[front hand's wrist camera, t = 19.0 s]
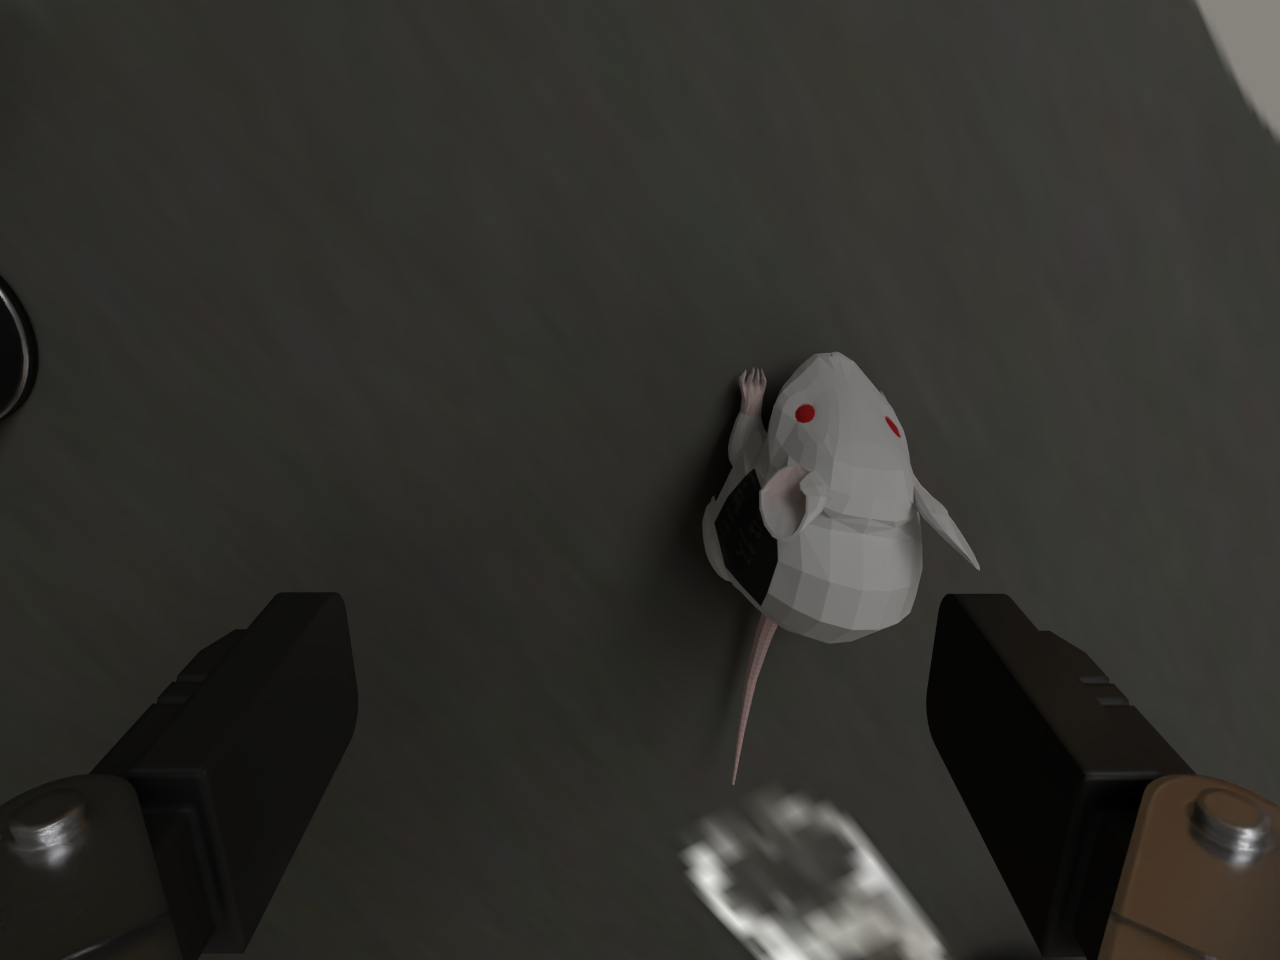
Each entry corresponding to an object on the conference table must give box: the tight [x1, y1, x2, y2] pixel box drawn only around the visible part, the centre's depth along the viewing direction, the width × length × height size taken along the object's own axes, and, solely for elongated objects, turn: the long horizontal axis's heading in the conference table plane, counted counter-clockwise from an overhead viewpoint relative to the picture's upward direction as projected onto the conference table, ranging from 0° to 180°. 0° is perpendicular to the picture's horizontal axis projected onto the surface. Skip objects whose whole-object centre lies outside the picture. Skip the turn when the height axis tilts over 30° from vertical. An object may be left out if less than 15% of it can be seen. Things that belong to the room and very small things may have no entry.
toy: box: [702, 352, 980, 785], centre depth 37 cm, size 9×24×15 cm, turn 171°
